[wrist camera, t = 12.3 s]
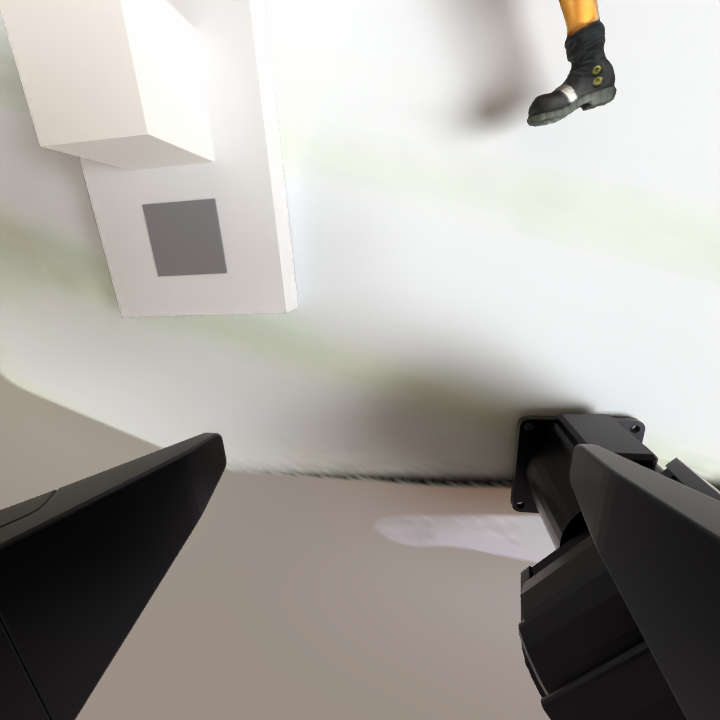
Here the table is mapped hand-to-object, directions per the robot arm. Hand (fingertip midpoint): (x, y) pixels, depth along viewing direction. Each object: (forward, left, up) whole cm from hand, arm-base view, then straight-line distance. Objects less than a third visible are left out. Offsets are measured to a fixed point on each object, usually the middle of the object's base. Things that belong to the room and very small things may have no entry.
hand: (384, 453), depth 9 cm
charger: (+12, +11, -12) cm, 20 cm away
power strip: (+12, +11, -12) cm, 20 cm away
